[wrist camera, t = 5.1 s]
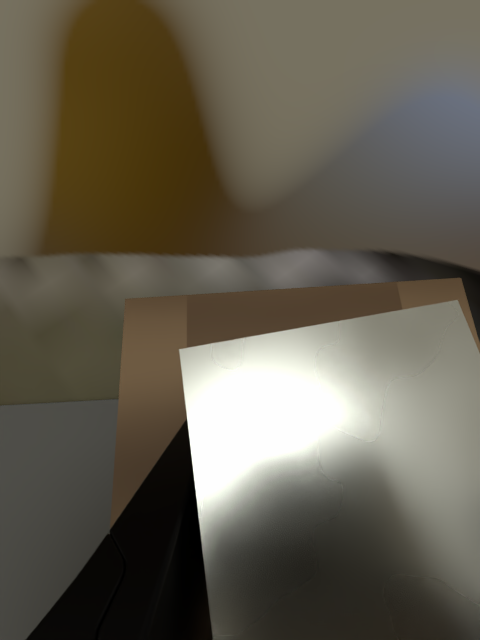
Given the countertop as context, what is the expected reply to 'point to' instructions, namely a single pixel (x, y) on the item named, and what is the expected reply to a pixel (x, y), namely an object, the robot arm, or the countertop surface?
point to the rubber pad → (51, 502)
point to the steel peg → (340, 478)
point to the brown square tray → (217, 326)
